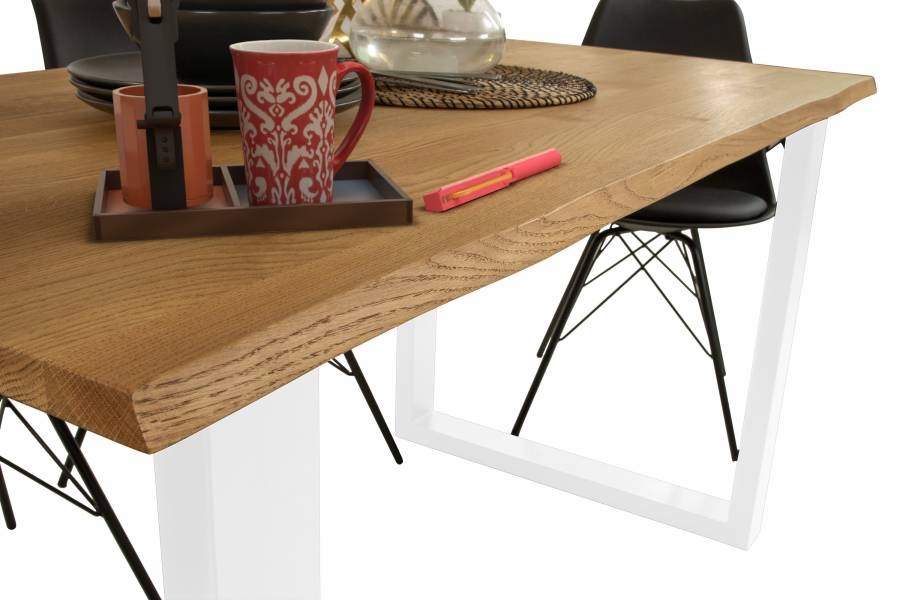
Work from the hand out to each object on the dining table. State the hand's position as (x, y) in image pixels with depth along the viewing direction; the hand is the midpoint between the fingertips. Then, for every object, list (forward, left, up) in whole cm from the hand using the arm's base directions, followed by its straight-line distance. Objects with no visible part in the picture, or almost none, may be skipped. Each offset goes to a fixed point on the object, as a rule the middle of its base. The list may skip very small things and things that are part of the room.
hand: (168, 195), depth 85 cm
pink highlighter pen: (+31, +4, -2) cm, 31 cm away
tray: (+7, 0, -2) cm, 7 cm away
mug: (+12, 0, -1) cm, 12 cm away
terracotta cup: (0, 0, 0) cm, 0 cm away
